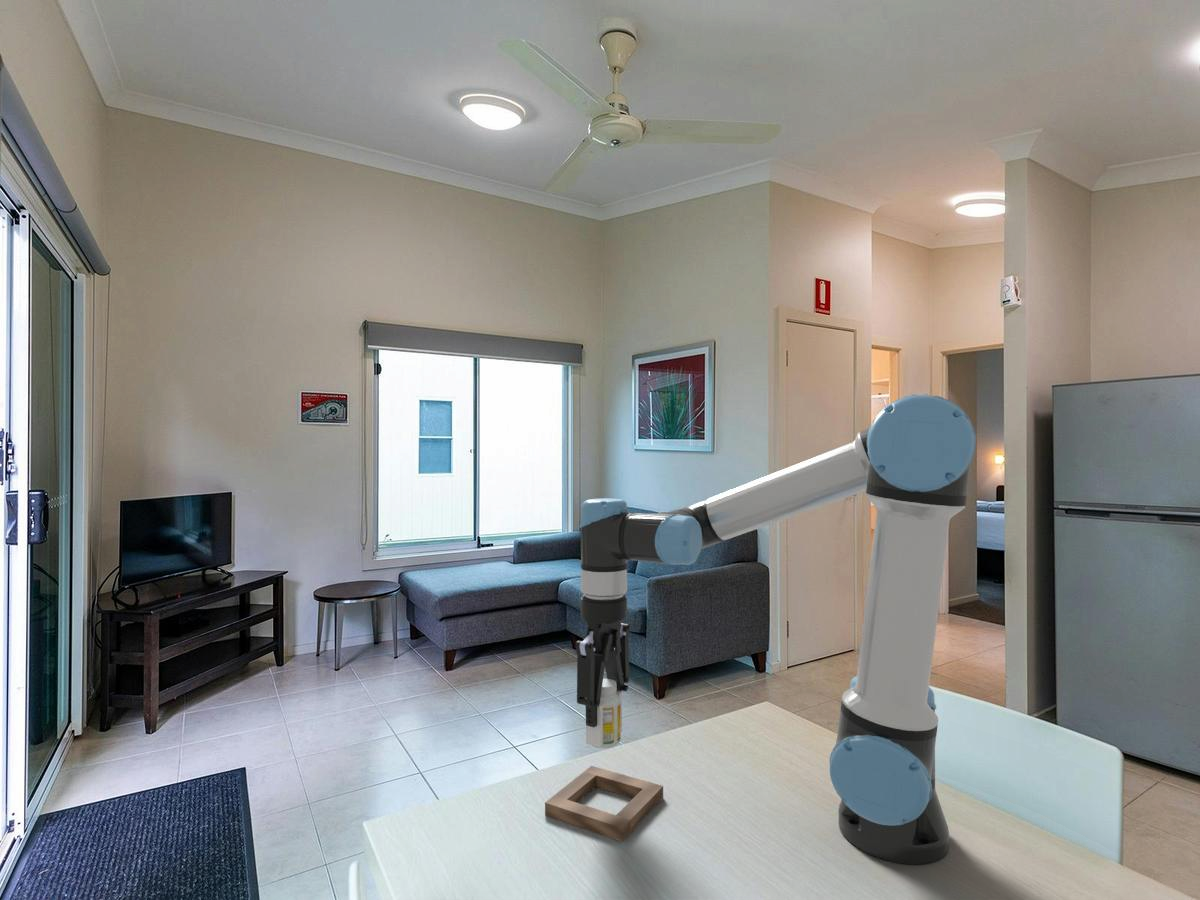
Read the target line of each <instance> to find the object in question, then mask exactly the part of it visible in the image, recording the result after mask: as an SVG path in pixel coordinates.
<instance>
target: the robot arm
mask: <svg viewBox="0 0 1200 900" xmlns="http://www.w3.org/2000/svg"><path fill="white" fill-rule="evenodd" d="M976 438H977V437H976V432H975V429H974V426H973V423H972V421H971V420H970V418H969V416H968V415H967V414H966V412H965V411H964V410H963V409H962V408H961V407H960V406H958V405H957V404H956V403H954V402H952V401H951V400H949V399H946V398H945V397H942V396H938V395H931V394H927V393H926V394H911V395H907V396H904V397H900V398H898V399H896V400H894V401H892V402H890V403H889V404H887V405H886V406H885V407H884V408H882V410H881V411H880V412H878V414H877V415H876V417H875V419H874V420H872V423H871V426H870V427H869V428H867V429H865V430H861V431H858V433H857V434H856V437H855V439H854V440H853V441H852V442H850V443H847V444H844V445H842V446H839V447H837V448H833V449H832V450H829V451H826V452H824V453H822V454H819V455H816V456H814V457H812V458H809V459H806V460H803V461H801V462H799V463H798V462H797V463H796V464H793V465H791V466H787V467H785V468H783V469H780V470H777V471H775V472H773V473H770V474H767V475H765V476H762V477H760V478H757V479H754V480H752V481H749V482H746V483H745V484H742V485H739V486H737V487H735V488H732V489H729V490H727V491H724V492H721V493H719V494H717V495H714V496H712V497H709V498H706V499H703V500H701V501H698V502H695V503H693V504H691V505H688V506H685V507H682V508H679V509H674V510H670V511H666V512H661V513H640V512H639V513H638V512H637V513H636V512H629V511H628V505H627V501H625V500H624V499H620V498H619V499H618V498H613V497H612V498H608V497H607V498H605V497H604V498H602V497H601V498H590V499H587V500H584V501H583V502H582V504H581V509H580V525H579V530H580V561H581V562H580V592H581V593H582V595H581V597H580V617H581V619H582V620H583V621H585V622H586V625H587V627H586V632H585V638H584V639H583V640H577V641H576V642H575V646H574V647H575V650H576V655H577V656H576V657H577V658H576V659H577V660H576V661H577V664H576V665H577V666H576V667H577V668H576V671H577V673H576V703H577V704H578V705H583V706H585V743H586V745H590V746H592V745H593V746H592V747H594V746H597V747H600V748H599V749H602V748H601V747H602V746H603V704H600V698H601V690H602V682H603V679H604V675H606V679H611V680H614V681H615V682H616V684H617V691H616V694H617V695H618V696H619V697H620V700H621V721H620V733H622V731H623V711H622V710H623V698H622V697H623V696H622V695H623V692H627V691H628V690H629V685H626V684H628V683H629V682H630V654H629V653H630V647H629V646H630V645H629V644H630V641H629V637H630V630H631V626H630V624H629V623H622V622H623V621H624V620H625V619H626V618H627V616H628V597H627V596H626V593H627V592H628V561H630V562H631V561H636V562H643V563H644V562H645V563H655V564H664V565H669V566H676V565H677V566H678V565H682V566H689V565H692V564H695V562H697V560H698V557H699V556H700V553H701V552H702V550H703V549H706V548H708V547H710V546H714V545H716V544H719V543H722V542H724V541H727V540H731V539H732V538H735V537H738V536H741V535H743V534H747V533H749V532H752V531H755V530H758V529H761V528H764V527H767V526H770V525H773V524H775V523H778V522H780V521H784V520H786V519H790V518H792V517H793V518H794V517H795V516H798V515H801V514H804V513H807V512H810V511H812V510H816V509H818V508H821V507H825V506H826V505H830V504H833V503H836V502H838V501H842V500H845V499H847V498H849V497H852V496H855V495H858V494H861V493H864V492H865V497H867V499H868V500H869V501H870V503H872V505H873V506H874V508H875V510H876V512H875V519H874V520H875V521H874V529H873V536H872V546H871V553H870V560H869V561H870V562H869V571H868V577H867V578H868V579H867V586H866V587H867V588H866V596H865V603H864V604H865V605H864V612H863V621H862V628H861V629H862V630H861V639H860V646H859V653H858V654H859V655H858V661H857V662H858V664H857V672H856V675H855V676H853V677H852V679H850V681H849V682H850V684H849V689H847V690H846V691H844V692H843V693H842V695H841V696H842V697H841V703H840V710H839V711H840V712H839V717H838V727H837V736H836V742H835V746H834V747H833V748H832V751H831V752H830V756H829V777H830V780H831V783H832V786H833V788H834V790H835V793H836V794H837V795H838V797H840V799H841V801H840V803H839V805H838V806H839V807H838V828H839V831H840V832H841V834H842V836H843V837H845V839H847V840H848V842H850V843H851V844H852V845H853V846H855V847H856V848H858V849H860V850H861V851H863V852H865V853H867V854H870V855H871V856H874V857H876V858H879V859H882V860H885V861H889V862H893V863H894V862H895V863H898V864H899V863H900V864H905V865H906V864H908V865H922V864H923V865H925V864H930V863H934V862H937V861H939V860H940V859H943V858H944V857H945V856H946V855H947V854H948V852H949V848H950V832H949V830H950V829H949V826H948V823H947V820H946V817H945V814H944V811H943V808H942V806H941V802H940V799H939V796H938V794H937V790H936V740H937V735H938V734H937V733H938V727H939V726H938V725H939V724H938V723H939V717H938V715H937V714H936V710H937V704H936V701H935V693H934V691H933V689H932V688H931V687H930V680H931V672H932V664H933V656H934V649H935V640H936V632H937V624H938V617H939V616H938V615H939V608H940V600H941V594H942V593H941V592H942V585H943V576H944V570H945V569H944V567H945V560H946V553H947V552H946V551H947V544H948V535H949V530H950V529H949V528H950V522H951V519H952V517H954V516H956V515H957V514H959V513H960V512H962V511H963V510H964V509H966V505H967V499H968V498H967V497H968V488H969V481H970V472H971V466H972V461H973V458H974V456H975V453H976V443H977V442H976V441H977V439H976ZM605 672H606V673H605ZM604 673H605V674H604ZM597 747H596V748H597Z"/></svg>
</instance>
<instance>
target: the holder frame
mask: <svg viewBox="0 0 1200 900" xmlns="http://www.w3.org/2000/svg"><path fill="white" fill-rule="evenodd" d="M596 786H597V787H596ZM594 787H595V788H598V787H600V788H599V789H601V788H603V789H602V790H605V789H606V790H605V791H608V790H609V791H608V792H611V791H613V792H612V793H616V794H618V793H619V795H621V794H623V795H622V796H625V797H628V796H629V798H631V797H632V799H631V800H629V801H628V803H627V804H625V806H624V807H622V809H620V811H619V812H618V813H617V814H613V813H611V812H607V811H604V810H600V809H597V808H594V807H592V806H588V805H585V804H582V803H579V802H581V799H582V798H583V797H584V798H585V797H586V796H587V795H588V793H589V792H590V791H591V790H592V789H593V788H594ZM595 788H594V789H595ZM594 789H593V790H594ZM593 790H592V791H593ZM592 791H591V792H592ZM591 792H590V793H591ZM590 793H589V794H590ZM584 798H583V799H584ZM583 799H582V800H583ZM663 799H664V785H661V784H658V783H654V782H651V781H648V780H647V781H646V780H644V779H639V778H637V777H633V776H629V775H625V774H622V773H619V772H615V771H612V770H607V769H605V768H601V767H597V766H594V765H590V766H589V767H587V768H586V769H585V770H584V771H583V772H581V773H580V774H579V775H578V776H575V778H574V779H573V780H571V781H570V782H569V783H567V784H566V785H565V786H564V787H563V788H561V789H560V790H559V791H558V792H557V793H555V794H553V796H551V797H550V798H549V799H548V800H547V801H545V802H544V816H547V817H549V818H552V819H555V820H557V821H561V822H564V823H567V824H569V825H573V826H576V827H579V828H582V829H584V830H587V831H590V832H593V833H596V834H600V835H602V836H605V837H608V838H610V839H614V840H616V841H620V842H624V841H625V840H626V839H627V838H628V837H629V835H630V834H631V833H632V832H633V831H634V830H635V829H636V828H637V827H638V826H639V825H640V823H642V821H643V820H645V818H647V816H648V815H650V813H651V812H652V811H653V810H654V808H656V807H657V806H658V804H659V803H660V802H661V801H662V800H663Z"/></svg>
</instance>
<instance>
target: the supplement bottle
mask: <svg viewBox="0 0 1200 900" xmlns="http://www.w3.org/2000/svg"><path fill="white" fill-rule="evenodd" d="M616 691H617V684H616V682H615V681H614V680H611V679H607V678H603V682H602V690H601V698H600V704H603V746H602V747H601V748H600V747H597V746H593V745H591V746H592V747H594V748H597V749H611V748H614V747H617V746H618V745H619V744H620V741H621V732H620V721H621V700H620V697H619V696H618V695H617V694H616Z"/></svg>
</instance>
